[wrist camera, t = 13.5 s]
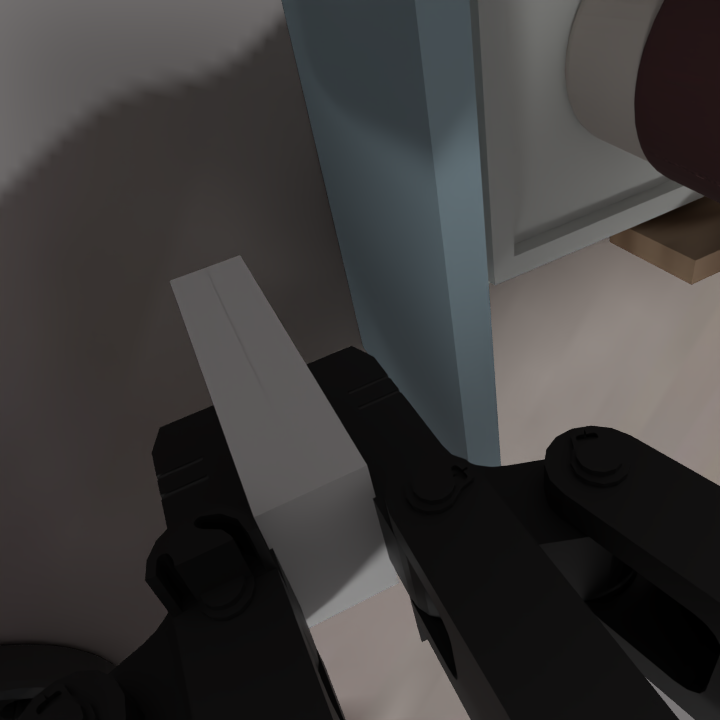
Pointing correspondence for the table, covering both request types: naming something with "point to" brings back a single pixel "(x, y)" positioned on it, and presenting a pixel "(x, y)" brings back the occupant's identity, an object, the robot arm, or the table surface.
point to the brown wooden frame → (679, 240)
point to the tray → (455, 180)
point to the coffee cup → (651, 83)
